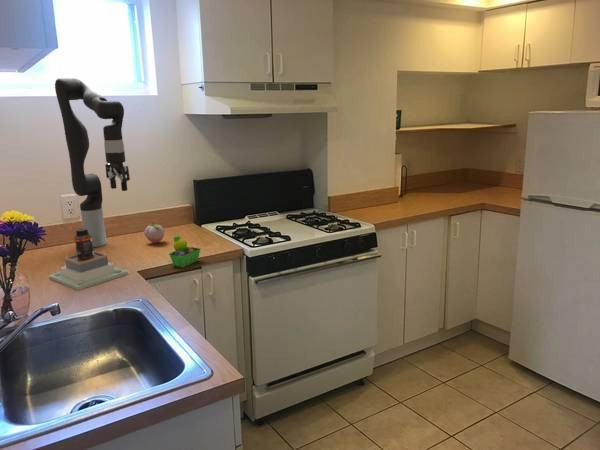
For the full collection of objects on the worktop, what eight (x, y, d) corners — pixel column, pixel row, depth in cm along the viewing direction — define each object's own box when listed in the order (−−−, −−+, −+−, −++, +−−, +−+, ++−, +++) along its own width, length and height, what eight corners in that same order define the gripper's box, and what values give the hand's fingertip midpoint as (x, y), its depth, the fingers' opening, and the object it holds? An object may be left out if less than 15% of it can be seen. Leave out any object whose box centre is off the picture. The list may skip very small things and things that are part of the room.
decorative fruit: (169, 242, 230) (167, 221, 228) (156, 246, 224) (153, 225, 221) (156, 239, 235) (153, 219, 233) (142, 244, 229) (140, 223, 226)
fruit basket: (182, 268, 193) (179, 241, 190) (166, 265, 198) (163, 238, 195) (202, 260, 202) (200, 234, 199) (187, 257, 207) (184, 231, 204)
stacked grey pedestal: (49, 278, 187) (45, 258, 185) (98, 263, 202) (95, 245, 200) (78, 290, 174) (74, 269, 172) (128, 273, 189) (125, 254, 187)
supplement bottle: (98, 256, 188) (93, 227, 186) (86, 261, 183) (82, 231, 180) (85, 255, 190) (81, 227, 187) (74, 259, 185) (69, 231, 182)
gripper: (97, 150, 204) (102, 189, 208) (115, 152, 195) (120, 193, 199) (114, 149, 209) (118, 186, 213) (132, 151, 200) (136, 190, 204)
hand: (119, 189), depth 206 cm, fingers open, 8 cm apart
